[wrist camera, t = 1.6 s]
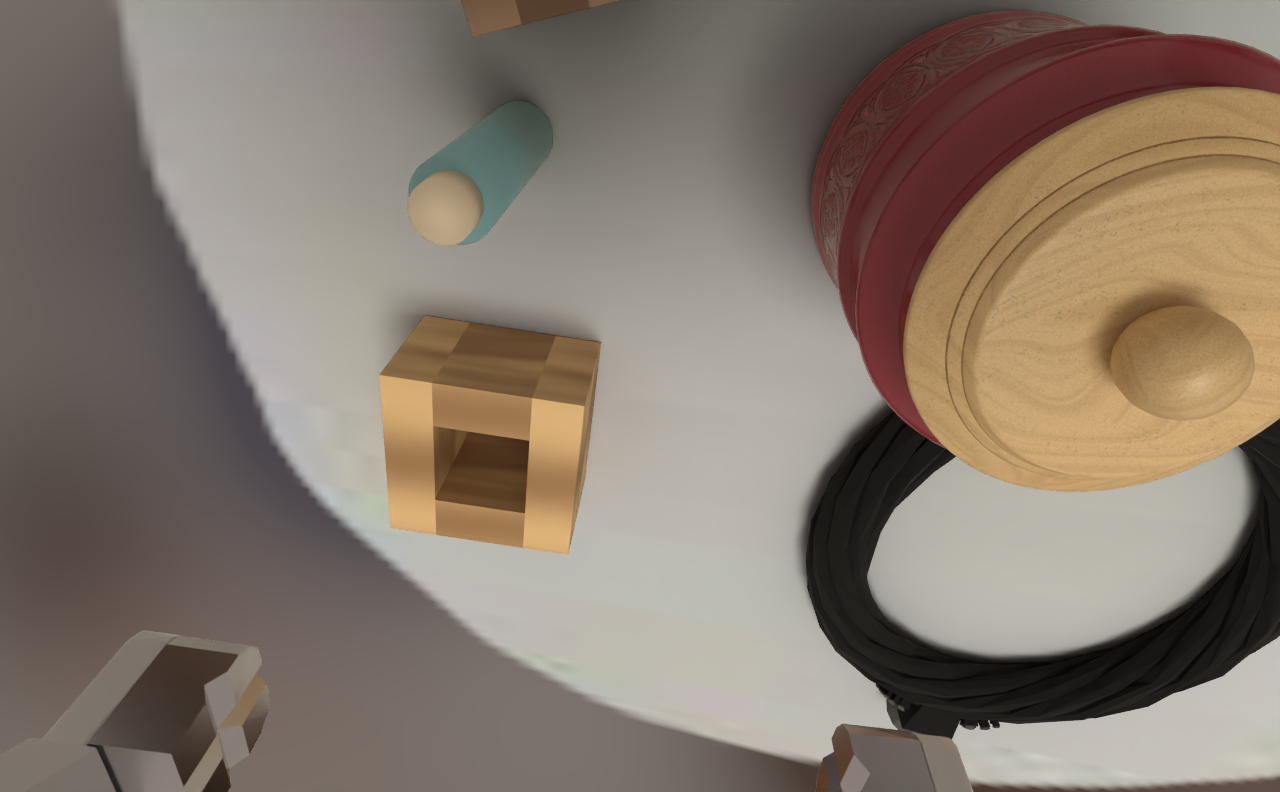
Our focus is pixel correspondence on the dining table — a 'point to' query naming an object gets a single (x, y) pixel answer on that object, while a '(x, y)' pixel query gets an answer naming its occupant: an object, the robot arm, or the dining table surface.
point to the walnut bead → (518, 12)
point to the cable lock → (1029, 692)
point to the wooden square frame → (488, 433)
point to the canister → (1062, 244)
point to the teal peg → (478, 175)
